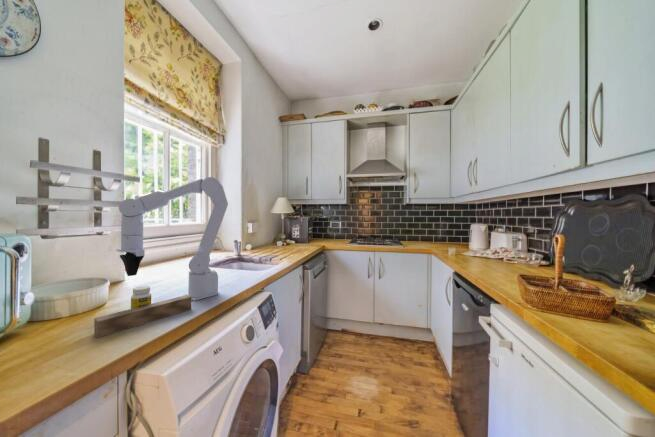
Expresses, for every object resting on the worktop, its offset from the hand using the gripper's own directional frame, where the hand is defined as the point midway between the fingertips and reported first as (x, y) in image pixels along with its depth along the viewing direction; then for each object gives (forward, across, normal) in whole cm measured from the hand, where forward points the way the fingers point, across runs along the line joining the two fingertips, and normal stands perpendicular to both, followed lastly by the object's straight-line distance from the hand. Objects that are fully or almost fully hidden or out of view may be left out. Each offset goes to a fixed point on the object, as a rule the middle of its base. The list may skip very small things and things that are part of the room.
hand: (131, 275), depth 80 cm
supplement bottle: (+10, +14, -2) cm, 17 cm away
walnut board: (+9, +20, -2) cm, 22 cm away
